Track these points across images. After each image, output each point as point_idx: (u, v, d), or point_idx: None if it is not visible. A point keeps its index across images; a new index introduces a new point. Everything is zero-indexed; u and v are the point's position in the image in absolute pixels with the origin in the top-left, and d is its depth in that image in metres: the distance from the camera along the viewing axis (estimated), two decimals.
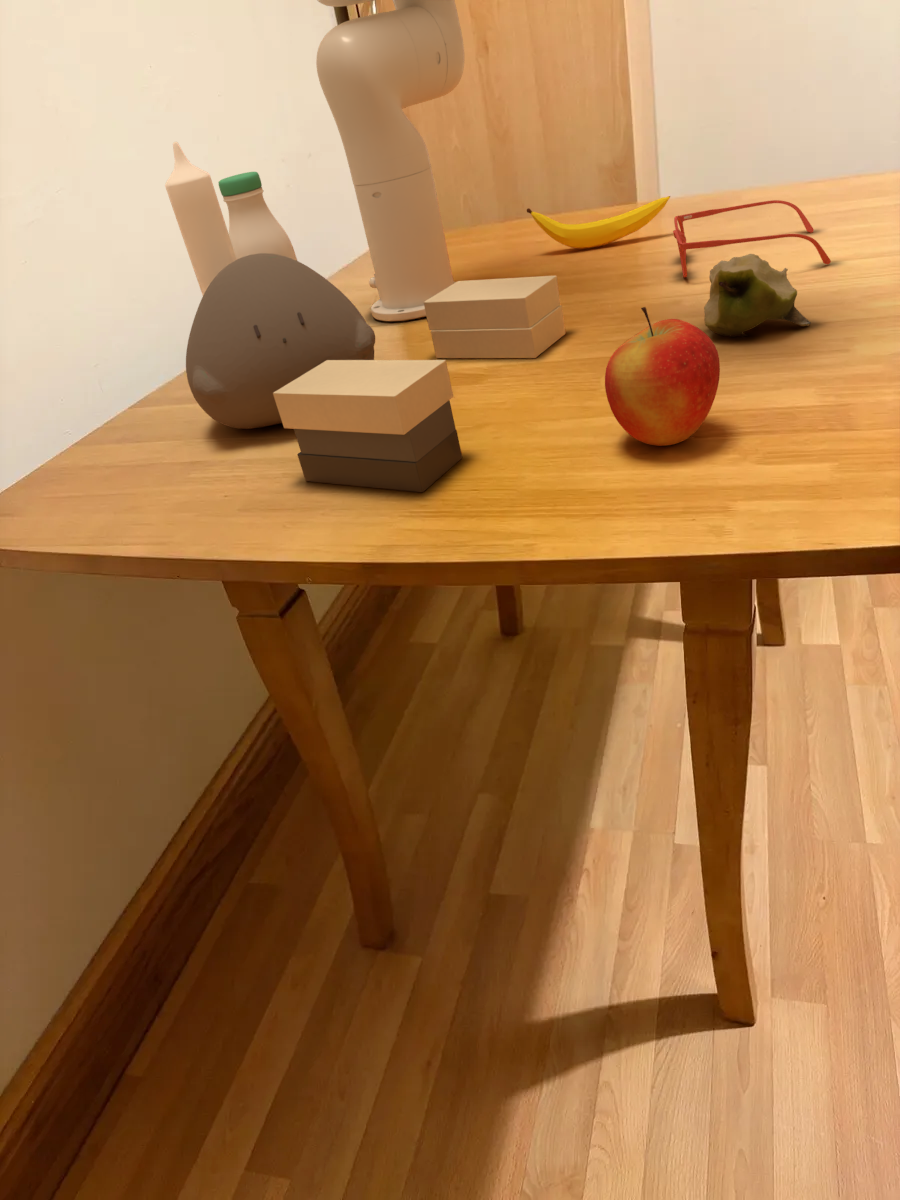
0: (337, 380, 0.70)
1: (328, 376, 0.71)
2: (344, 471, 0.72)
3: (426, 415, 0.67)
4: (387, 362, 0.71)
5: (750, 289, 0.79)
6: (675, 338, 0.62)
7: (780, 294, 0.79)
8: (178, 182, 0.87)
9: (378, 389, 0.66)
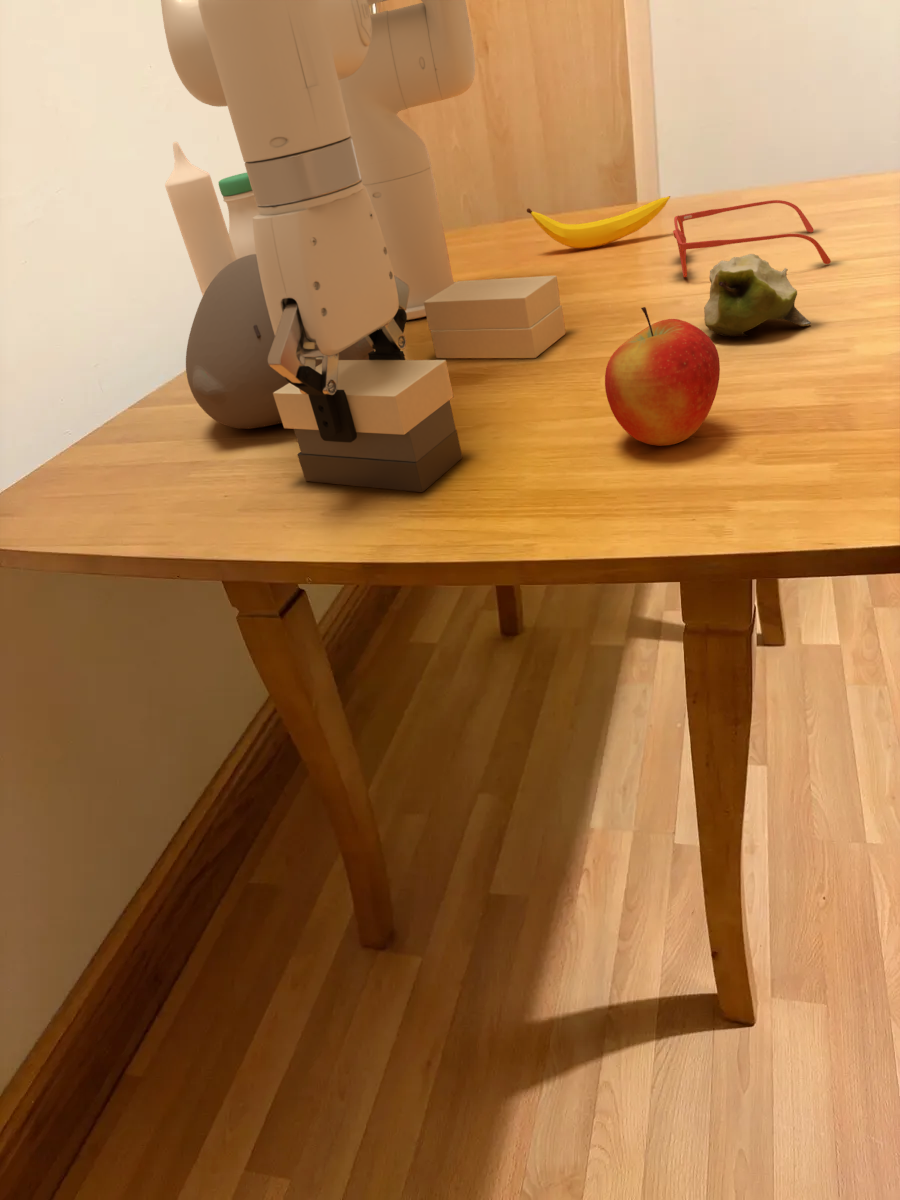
0: None
1: None
2: (344, 471, 0.72)
3: (426, 415, 0.67)
4: (387, 362, 0.71)
5: (750, 290, 0.79)
6: (675, 338, 0.62)
7: (780, 294, 0.79)
8: (178, 181, 0.87)
9: (378, 389, 0.66)
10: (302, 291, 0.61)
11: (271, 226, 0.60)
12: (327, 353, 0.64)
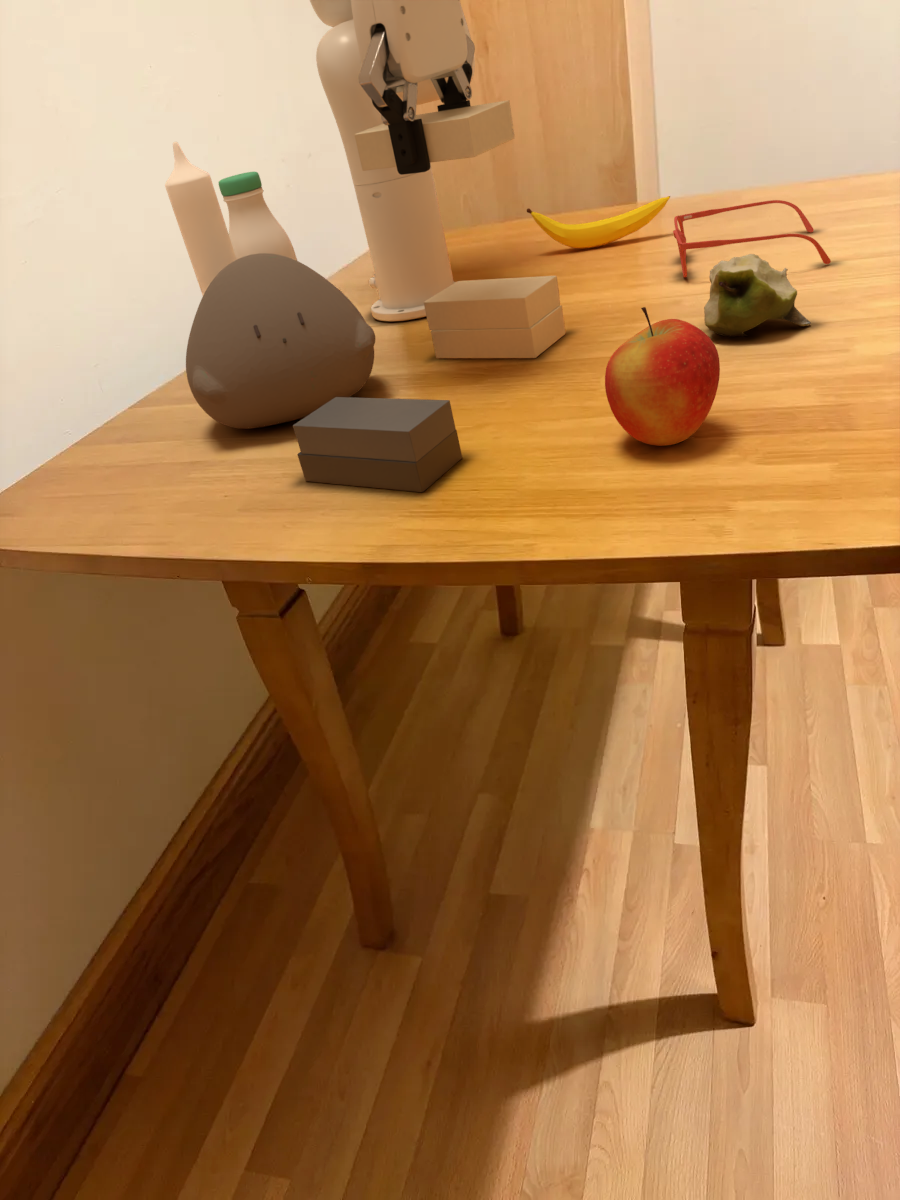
0: None
1: None
2: (344, 471, 0.72)
3: (492, 146, 0.76)
4: (456, 109, 0.80)
5: (750, 290, 0.79)
6: (675, 338, 0.62)
7: (780, 294, 0.79)
8: (178, 181, 0.87)
9: (452, 117, 0.75)
10: (390, 15, 0.70)
11: None
12: (409, 79, 0.73)
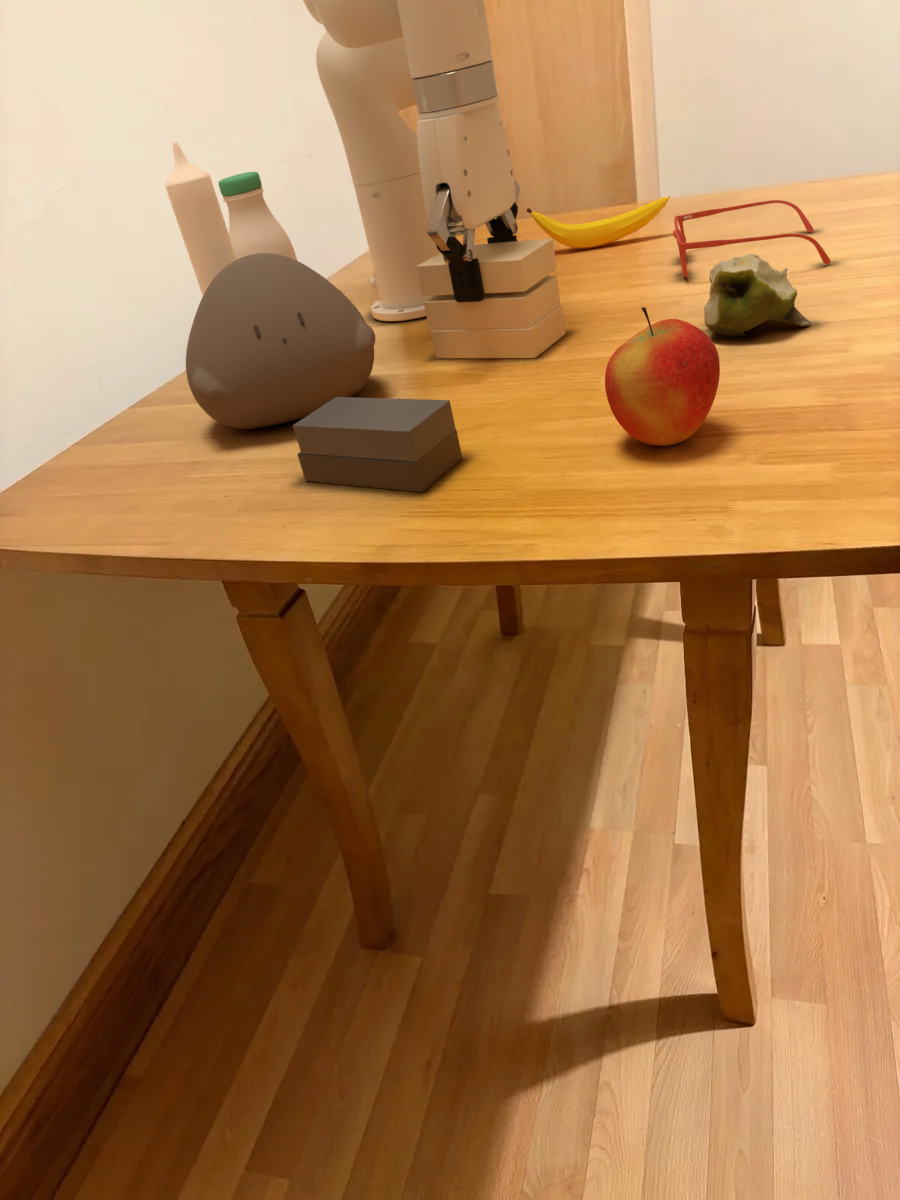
0: None
1: None
2: (344, 471, 0.72)
3: (539, 279, 0.88)
4: (504, 243, 0.91)
5: (750, 290, 0.79)
6: (675, 338, 0.62)
7: (780, 294, 0.79)
8: (178, 181, 0.87)
9: (505, 257, 0.86)
10: (454, 177, 0.82)
11: (434, 126, 0.80)
12: (468, 227, 0.84)
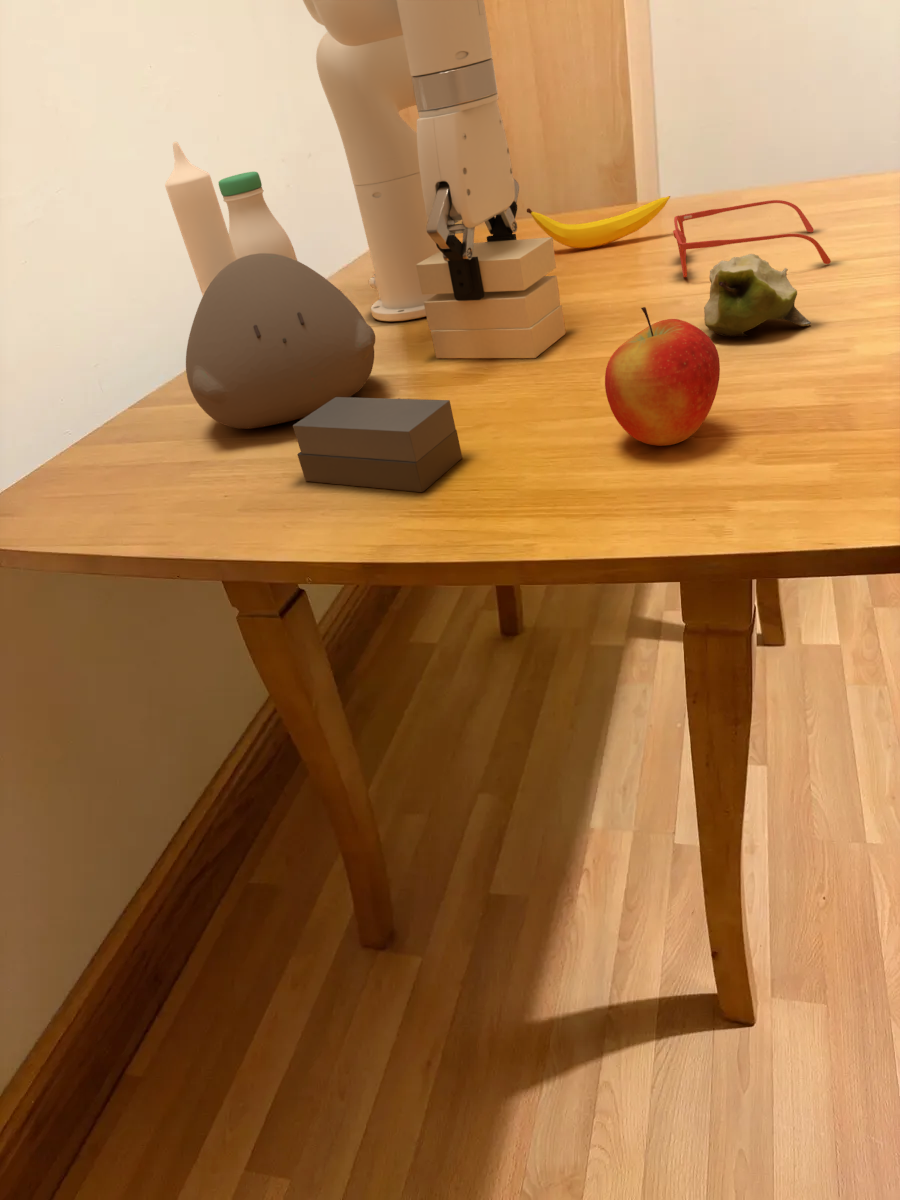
0: None
1: None
2: (344, 471, 0.72)
3: (538, 278, 0.88)
4: (504, 242, 0.91)
5: (750, 290, 0.79)
6: (675, 338, 0.62)
7: (780, 294, 0.79)
8: (178, 181, 0.87)
9: (504, 256, 0.86)
10: (454, 175, 0.82)
11: (433, 124, 0.80)
12: (468, 225, 0.84)
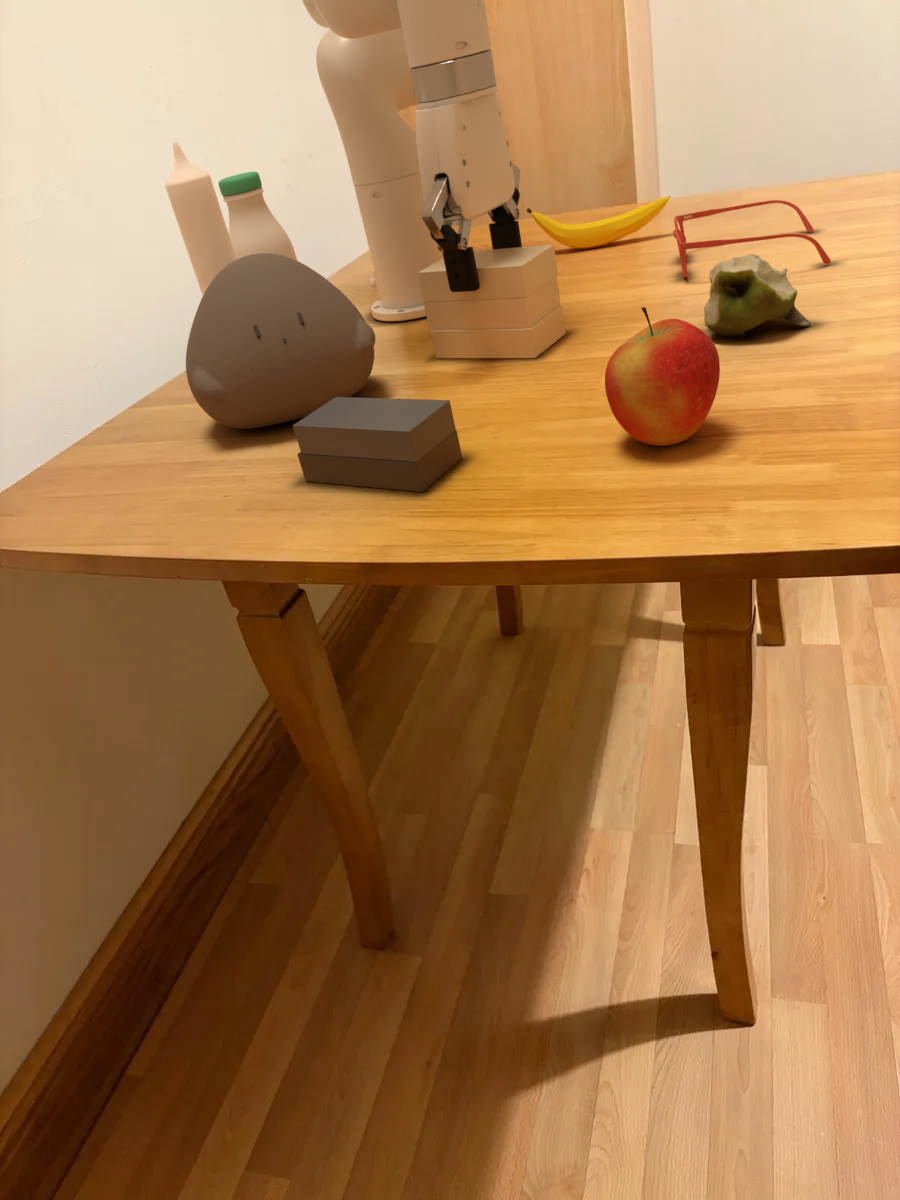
0: None
1: None
2: (344, 471, 0.72)
3: (540, 285, 0.88)
4: (506, 249, 0.92)
5: (750, 290, 0.79)
6: (675, 338, 0.62)
7: (780, 294, 0.79)
8: (178, 181, 0.87)
9: (506, 263, 0.86)
10: (453, 166, 0.81)
11: (432, 116, 0.80)
12: (467, 218, 0.84)
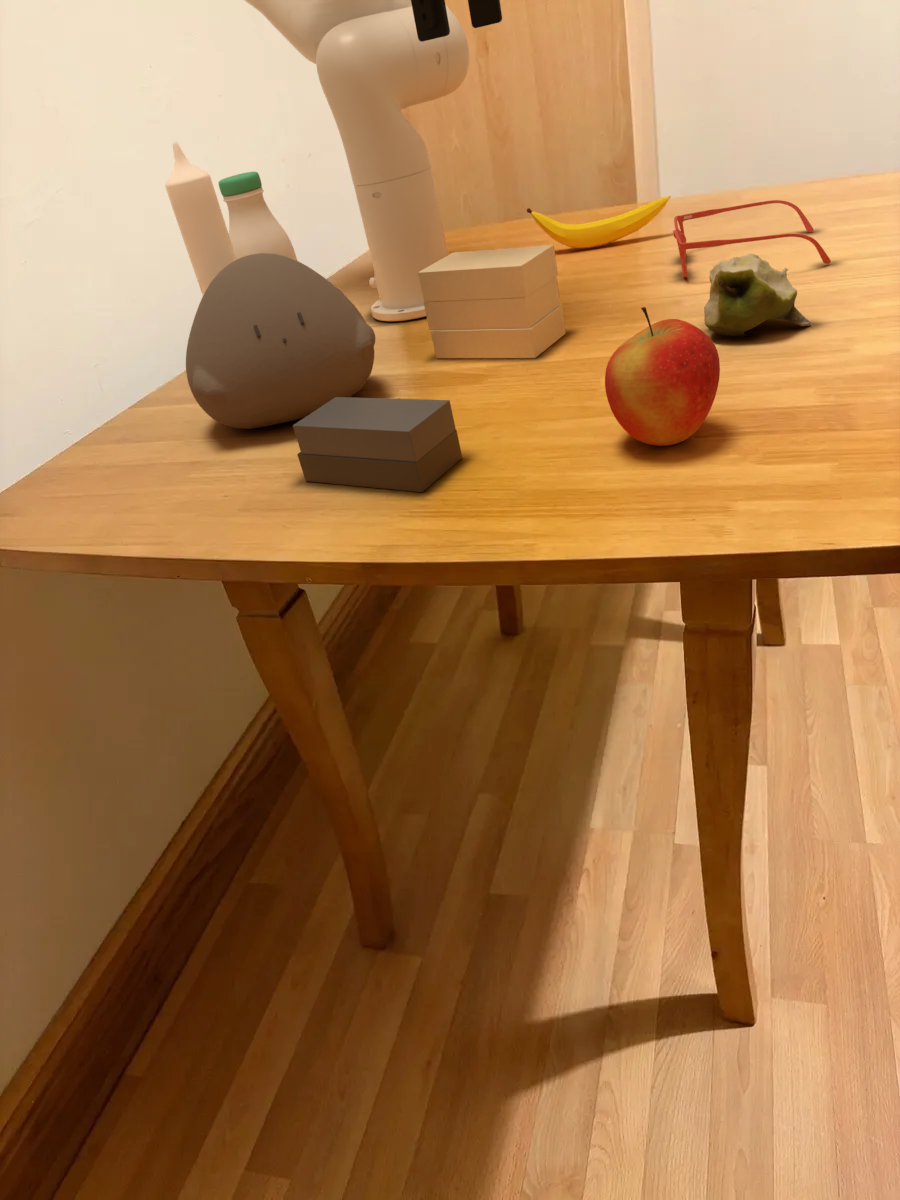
0: (469, 261, 0.90)
1: (459, 260, 0.92)
2: (344, 471, 0.72)
3: (540, 285, 0.88)
4: (506, 249, 0.92)
5: (750, 290, 0.79)
6: (675, 338, 0.62)
7: (780, 294, 0.79)
8: (178, 181, 0.87)
9: (506, 263, 0.86)
10: None
11: None
12: None
